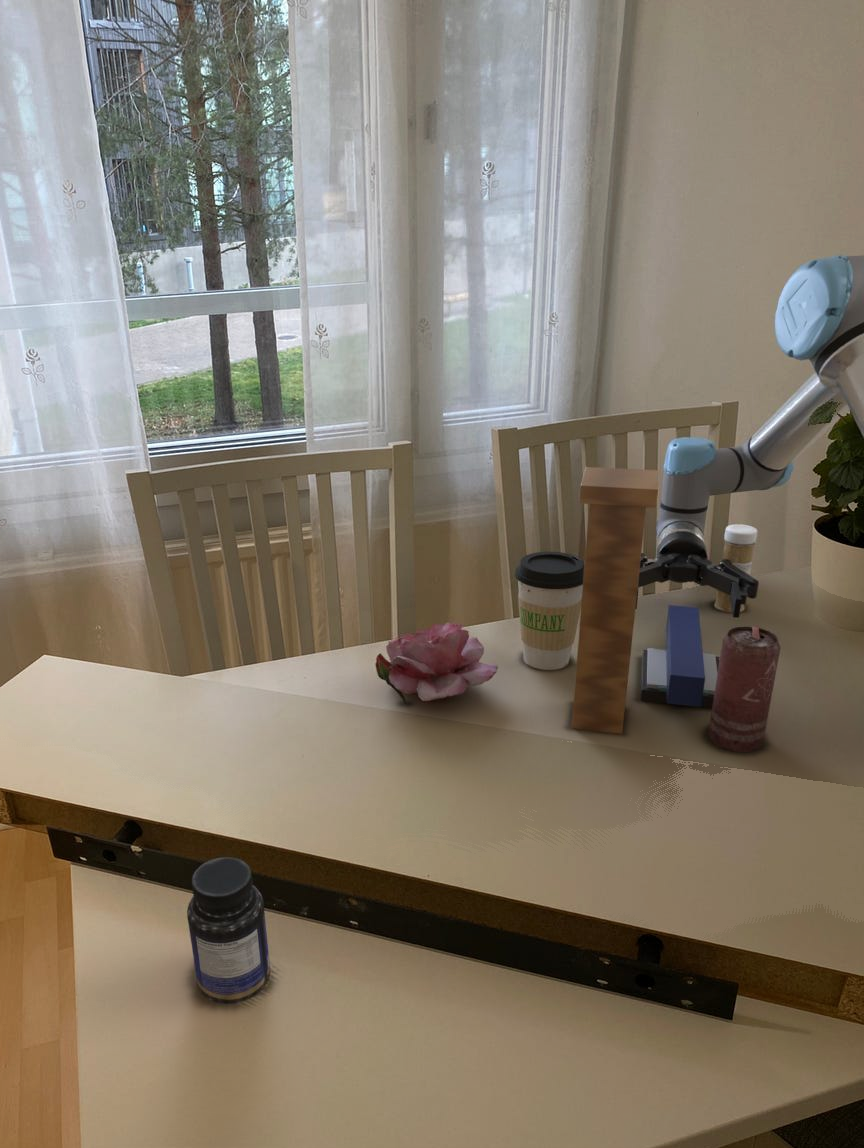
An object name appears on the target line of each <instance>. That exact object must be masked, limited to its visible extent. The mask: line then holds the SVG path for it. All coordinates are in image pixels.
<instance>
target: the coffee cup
mask: <svg viewBox="0 0 864 1148" xmlns="http://www.w3.org/2000/svg"><path fill="white" fill-rule="evenodd" d="M584 564H585V560H583V559H582V558H581V557H578V556H577V555H574V554H572V553H571V554H570V553H567V552H562V551H561V552H560V551H539V552H533V553H529V554H526V555H524V556H523V557H522V558H521V559H520V561H519V564H518V565H517V566H516V568H515V572H514V577H515V579H516V580H517V584H518V593H517V600H518V613H519V624H520V625H519V627H520V637H521V641H522V653H523V661H524V663H525V664H527V665H528V666H529V667H532V668H535V669H537V670H543V671H544V670H545V671H554V670H560V669H562V668H565V667H566V666H568V665H569V662H570V658H571V653H572V649H573V645H574V642H575V640H576V639H575V638H576V634H577V629H578V625H579V624H578V623H579V621H580V615H581V602H582V590H583V577H584Z"/></svg>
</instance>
